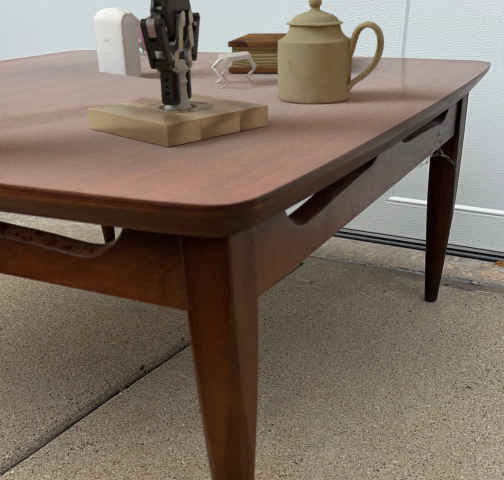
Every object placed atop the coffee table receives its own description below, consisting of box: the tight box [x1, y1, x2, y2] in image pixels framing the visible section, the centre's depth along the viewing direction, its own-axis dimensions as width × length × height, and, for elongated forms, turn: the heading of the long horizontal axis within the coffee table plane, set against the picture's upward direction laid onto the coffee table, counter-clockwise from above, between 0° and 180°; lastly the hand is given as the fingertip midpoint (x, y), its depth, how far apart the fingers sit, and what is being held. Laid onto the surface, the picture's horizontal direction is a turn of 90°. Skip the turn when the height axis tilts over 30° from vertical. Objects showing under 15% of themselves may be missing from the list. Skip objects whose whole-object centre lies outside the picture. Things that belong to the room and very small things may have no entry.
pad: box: [87, 93, 269, 148], centre depth 87 cm, size 16×16×2 cm
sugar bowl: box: [277, 0, 385, 105], centre depth 102 cm, size 15×11×15 cm
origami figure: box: [210, 51, 257, 89], centre depth 119 cm, size 12×8×5 cm
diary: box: [227, 32, 287, 74], centre depth 141 cm, size 23×19×6 cm
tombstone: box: [93, 6, 142, 78], centre depth 129 cm, size 10×4×12 cm, turn 44°
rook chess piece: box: [164, 59, 192, 110], centre depth 85 cm, size 4×4×8 cm
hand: (177, 101), depth 86 cm, fingers closed on rook chess piece, 3 cm apart
